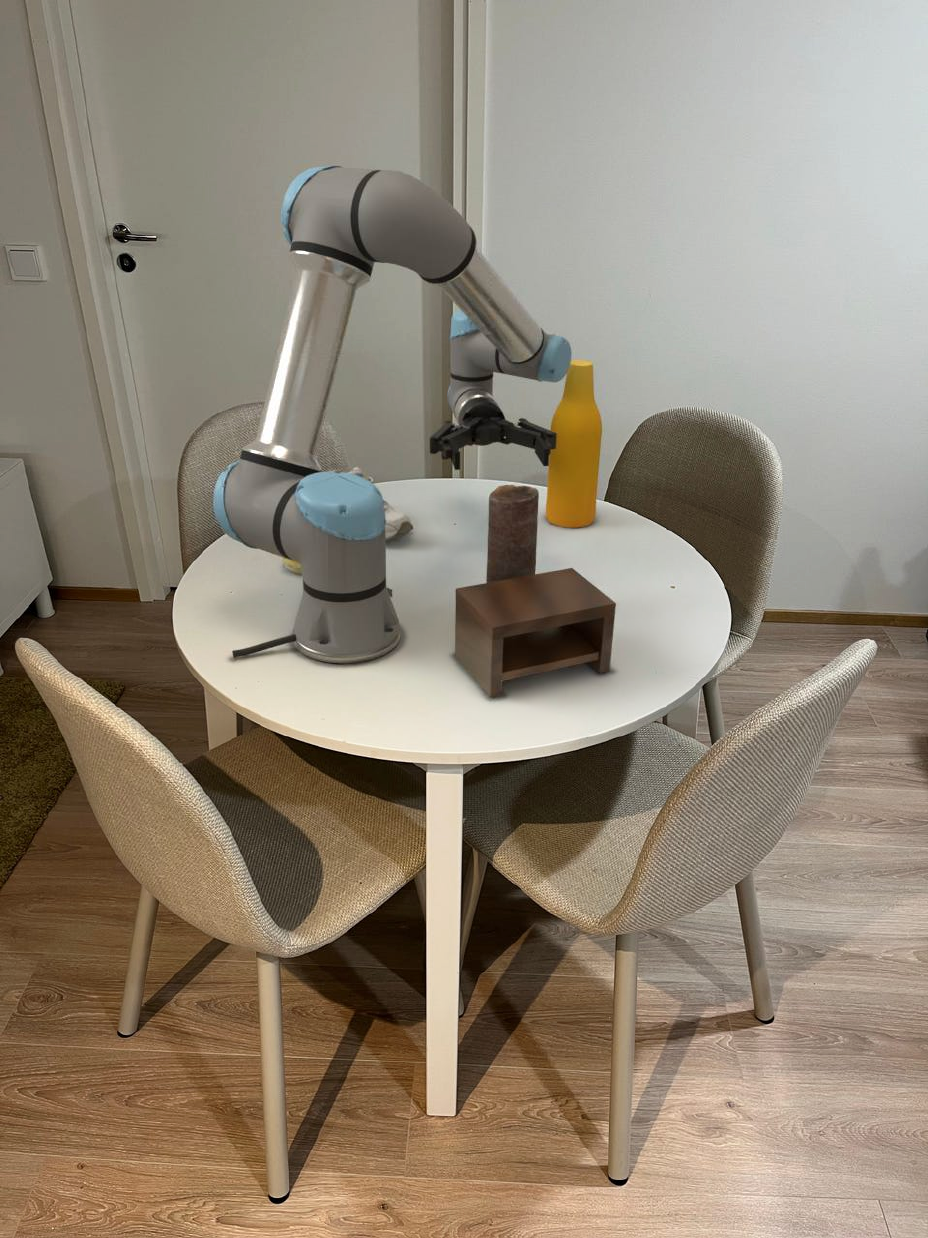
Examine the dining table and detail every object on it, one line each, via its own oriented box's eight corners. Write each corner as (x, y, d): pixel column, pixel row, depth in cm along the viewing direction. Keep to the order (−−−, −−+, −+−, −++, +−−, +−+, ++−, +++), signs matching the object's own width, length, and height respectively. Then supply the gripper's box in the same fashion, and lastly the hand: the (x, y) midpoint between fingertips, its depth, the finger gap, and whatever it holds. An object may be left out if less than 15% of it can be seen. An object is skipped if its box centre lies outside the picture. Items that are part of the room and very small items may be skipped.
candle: (518, 630, 144) (523, 502, 135) (475, 617, 148) (478, 492, 138) (542, 610, 150) (549, 486, 141) (501, 598, 154) (505, 476, 144)
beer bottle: (582, 532, 177) (594, 371, 164) (536, 522, 181) (544, 364, 168) (602, 516, 184) (616, 361, 171) (558, 506, 188) (567, 354, 175)
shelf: (490, 698, 128) (492, 627, 123) (454, 655, 138) (455, 588, 133) (609, 671, 134) (616, 603, 129) (567, 632, 144) (572, 567, 139)
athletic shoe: (392, 552, 168) (400, 483, 164) (297, 522, 180) (303, 457, 177) (428, 547, 176) (437, 481, 172) (335, 518, 188) (341, 456, 185)
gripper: (550, 436, 169) (581, 479, 151) (407, 442, 166) (420, 486, 148) (553, 393, 166) (584, 432, 147) (406, 398, 163) (419, 438, 144)
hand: (502, 459), depth 148 cm, fingers open, 13 cm apart
